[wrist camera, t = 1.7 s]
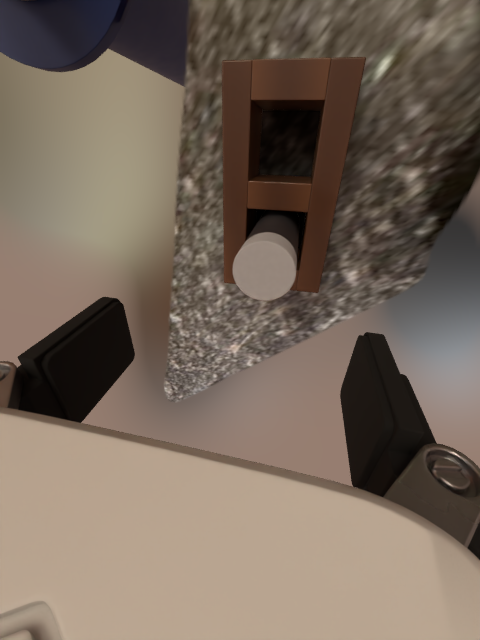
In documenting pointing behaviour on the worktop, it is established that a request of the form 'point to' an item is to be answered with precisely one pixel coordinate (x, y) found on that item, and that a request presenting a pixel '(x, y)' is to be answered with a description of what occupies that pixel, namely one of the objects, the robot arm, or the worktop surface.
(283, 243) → the tool handle
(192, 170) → the worktop surface
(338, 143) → the holder
